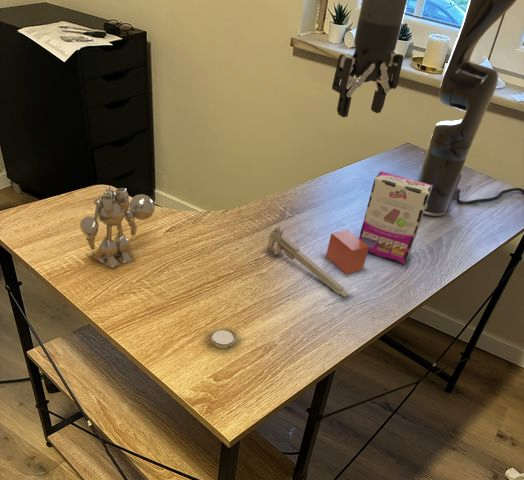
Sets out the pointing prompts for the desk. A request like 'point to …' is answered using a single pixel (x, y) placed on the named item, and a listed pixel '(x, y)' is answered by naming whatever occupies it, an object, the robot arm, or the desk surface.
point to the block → (347, 251)
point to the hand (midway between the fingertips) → (359, 113)
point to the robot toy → (115, 223)
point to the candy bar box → (394, 215)
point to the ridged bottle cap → (222, 338)
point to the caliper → (301, 259)
